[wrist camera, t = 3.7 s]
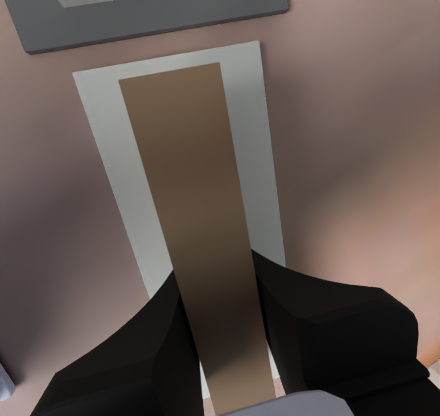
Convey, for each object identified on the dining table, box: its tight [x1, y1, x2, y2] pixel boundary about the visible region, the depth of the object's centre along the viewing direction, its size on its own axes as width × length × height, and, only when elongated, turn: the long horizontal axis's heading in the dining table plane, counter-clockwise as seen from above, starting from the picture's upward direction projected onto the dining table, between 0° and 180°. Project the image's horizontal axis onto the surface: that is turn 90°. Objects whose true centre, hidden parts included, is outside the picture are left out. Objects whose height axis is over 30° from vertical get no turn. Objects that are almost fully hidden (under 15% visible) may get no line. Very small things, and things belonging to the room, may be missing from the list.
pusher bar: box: [118, 62, 276, 415], centre depth 10 cm, size 16×2×5 cm, turn 11°
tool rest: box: [72, 40, 286, 399], centre depth 12 cm, size 20×8×1 cm, turn 11°
